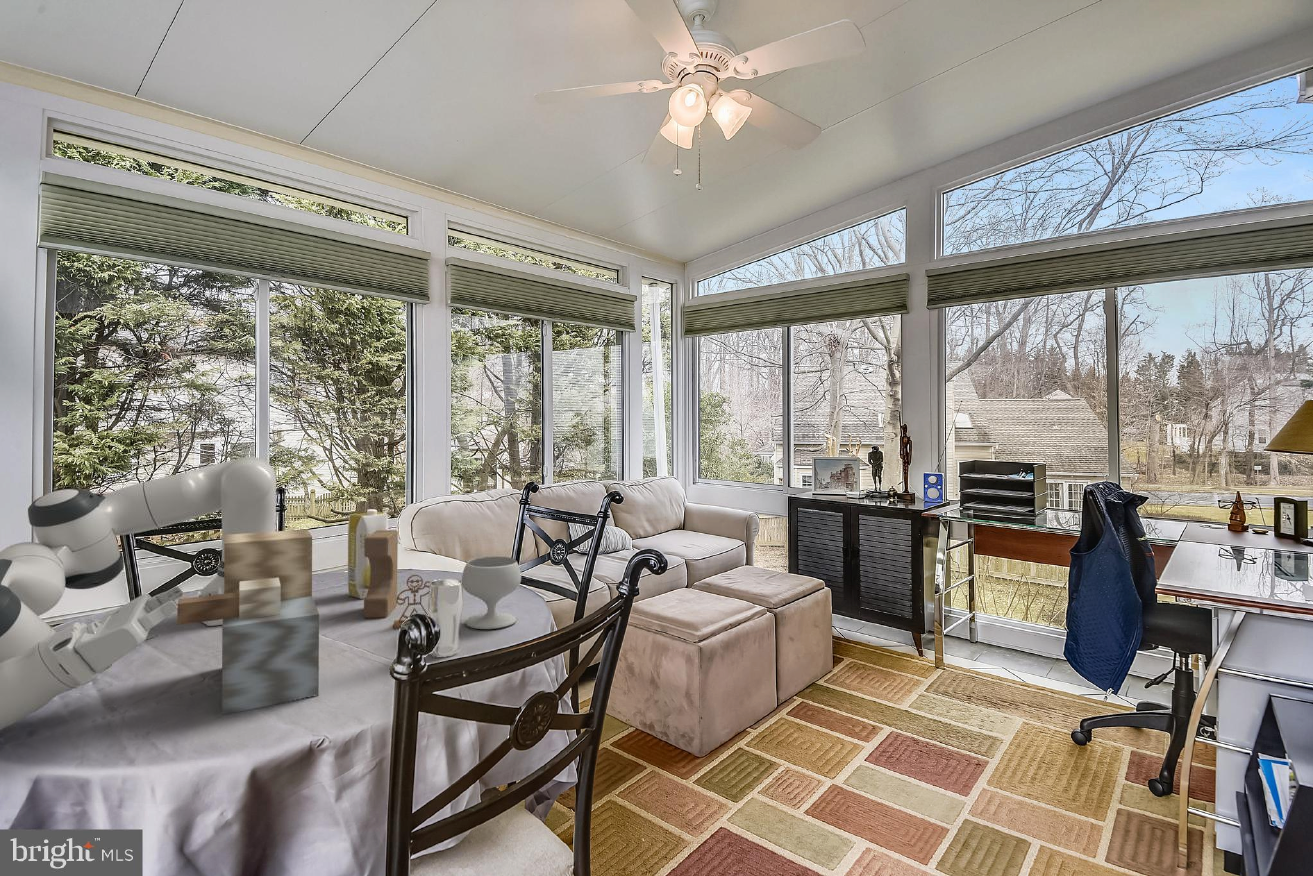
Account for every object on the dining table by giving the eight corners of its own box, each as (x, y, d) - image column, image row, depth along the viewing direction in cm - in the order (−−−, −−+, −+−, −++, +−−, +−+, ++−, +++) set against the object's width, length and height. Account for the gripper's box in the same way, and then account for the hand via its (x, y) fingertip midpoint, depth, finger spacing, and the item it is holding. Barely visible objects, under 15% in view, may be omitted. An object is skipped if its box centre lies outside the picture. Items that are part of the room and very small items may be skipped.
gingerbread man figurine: (394, 629, 146) (395, 578, 145) (393, 624, 149) (394, 574, 149) (434, 624, 149) (435, 575, 149) (433, 620, 153) (433, 571, 153)
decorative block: (387, 618, 154) (387, 537, 153) (362, 618, 153) (363, 537, 152) (398, 605, 165) (398, 529, 164) (375, 605, 164) (376, 530, 163)
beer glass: (442, 661, 127) (443, 588, 126) (420, 654, 130) (421, 582, 130) (469, 650, 133) (470, 581, 132) (447, 644, 136) (448, 576, 136)
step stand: (221, 714, 102) (222, 557, 102) (225, 667, 122) (225, 534, 121) (318, 695, 110) (319, 549, 109) (306, 653, 129) (307, 529, 129)
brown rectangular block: (176, 628, 101) (176, 597, 101) (179, 616, 107) (180, 587, 107) (280, 614, 109) (280, 586, 109) (278, 604, 115) (278, 577, 115)
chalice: (464, 635, 142) (465, 570, 142) (458, 617, 155) (458, 557, 155) (525, 628, 148) (526, 565, 148) (514, 611, 161) (515, 553, 161)
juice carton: (360, 600, 168) (361, 512, 167) (343, 596, 172) (344, 509, 171) (391, 593, 175) (392, 508, 175) (375, 589, 180) (375, 506, 179)
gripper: (107, 646, 107) (194, 596, 113) (81, 690, 90) (185, 628, 96) (82, 617, 105) (172, 568, 111) (51, 656, 88) (159, 596, 94)
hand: (178, 596), depth 104 cm, fingers open, 8 cm apart
